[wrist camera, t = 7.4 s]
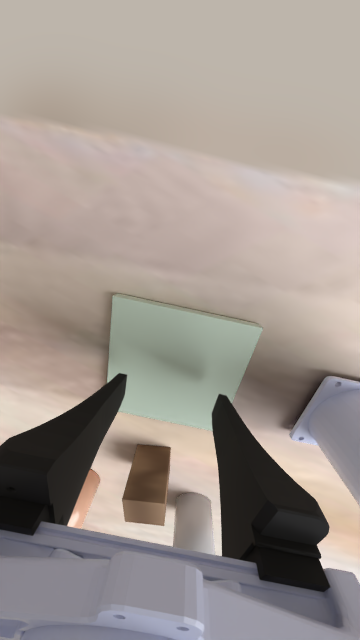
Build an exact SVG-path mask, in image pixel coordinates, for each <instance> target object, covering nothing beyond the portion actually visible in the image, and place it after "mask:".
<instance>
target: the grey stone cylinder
mask: <svg viewBox="0 0 360 640" xmlns="http://www.w3.org/2000/svg"><path fill="white" fill-rule="evenodd" d="M173 547H176V548H181V549H186V550H192V551H197V552H202V553H207V554H212V555H215V546H214V534H213V522H212V509H211V501H210V500H209V499H208V498H207V497H206V496H204V495H202V494H198V493H185V494H182V495H180V496H179V497H177V499H176V507H175V523H174V539H173Z"/></svg>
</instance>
